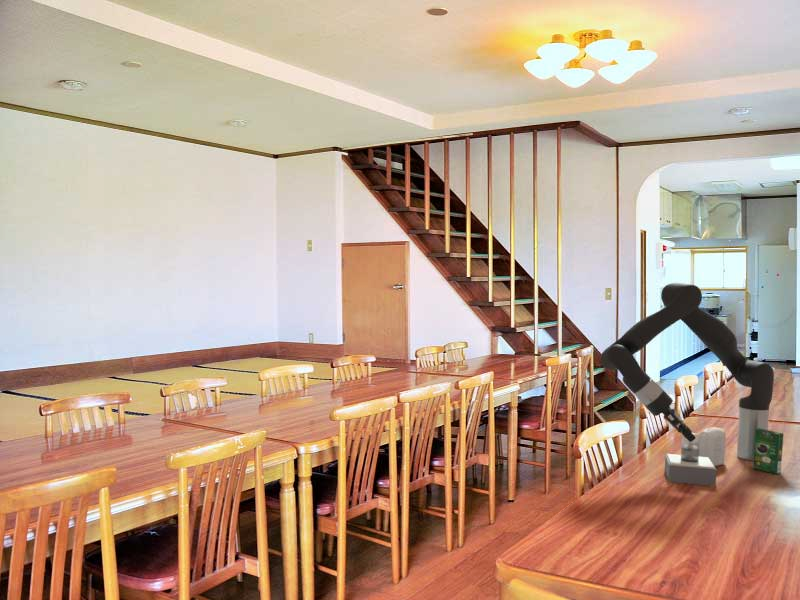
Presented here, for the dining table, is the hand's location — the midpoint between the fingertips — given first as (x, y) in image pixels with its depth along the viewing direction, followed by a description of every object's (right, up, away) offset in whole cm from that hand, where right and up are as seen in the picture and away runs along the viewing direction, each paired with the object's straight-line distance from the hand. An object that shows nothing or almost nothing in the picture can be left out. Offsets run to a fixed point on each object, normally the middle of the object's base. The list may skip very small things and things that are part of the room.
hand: (691, 436), depth 213 cm
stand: (0, -13, +1) cm, 13 cm away
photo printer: (+13, -13, +17) cm, 25 cm away
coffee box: (+29, -13, +10) cm, 33 cm away
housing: (0, -7, +1) cm, 7 cm away
